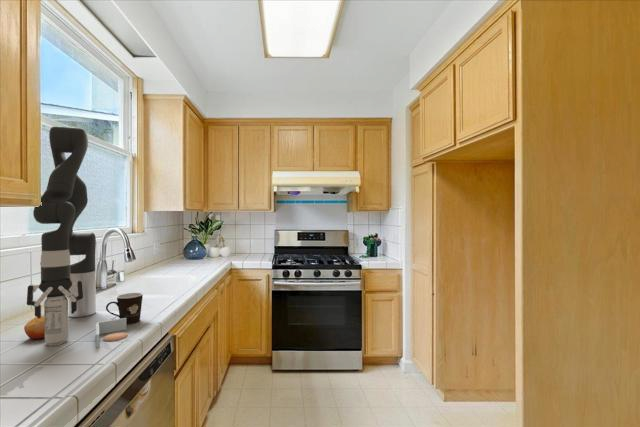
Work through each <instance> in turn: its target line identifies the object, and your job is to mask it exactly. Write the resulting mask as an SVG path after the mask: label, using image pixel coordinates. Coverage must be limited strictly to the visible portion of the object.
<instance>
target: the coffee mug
mask: <svg viewBox="0 0 640 427" xmlns="http://www.w3.org/2000/svg"><path fill="white" fill-rule="evenodd" d="M143 294H144V293H142V292H129V293H123V294H119V295H117V296H116V300H117V301H110V302H109V303H107V304H106V306H105V311H107V312H108V313H109V314H110V315H113V316H116V317H118V319H121V318H126V326H127V325H135V324H136V323H140V321H141V314H142V313H141V312H142V306H143V305H142V304H143V296H144V295H143ZM111 304H115V305H116V306H117V307H118V314H116V313H114V312H112V311H110V309H109V306H110V305H111Z"/></svg>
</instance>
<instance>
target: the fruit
mask: <svg viewBox="0 0 640 427" xmlns="http://www.w3.org/2000/svg"><path fill="white" fill-rule="evenodd" d="M23 330H24V333H25V334H26V336H27V337H28V338H29V339H31V340H41V339H45V319H44V315H41V318H38V317H33V318H32V319H30V320H29V321H28V322H26V324H25V325H24V327H23Z"/></svg>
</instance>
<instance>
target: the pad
mask: <svg viewBox="0 0 640 427" xmlns="http://www.w3.org/2000/svg"><path fill="white" fill-rule="evenodd" d="M128 335H129V334H128V333H127V332H120V331H119V332H112V333H109V334H107V335H105V336H103V337H102V339H103V341H105V342H115V341H120V340H123V339H126V338H127V337H129V336H128Z"/></svg>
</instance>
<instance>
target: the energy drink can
mask: <svg viewBox="0 0 640 427" xmlns="http://www.w3.org/2000/svg"><path fill="white" fill-rule="evenodd" d="M68 306H69V305H68V297H67V296H66V295H65V294H64V295H63V296H55V297H48V296H47V297H46V298H45V299H44V302H43V308H44V313H43V316H44V319H45V338H44V343H45V344H46V345H47V346H51V347H52V346H58V345H62V344H64V343H66V342H67V340H68V339H69V309H68Z"/></svg>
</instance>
